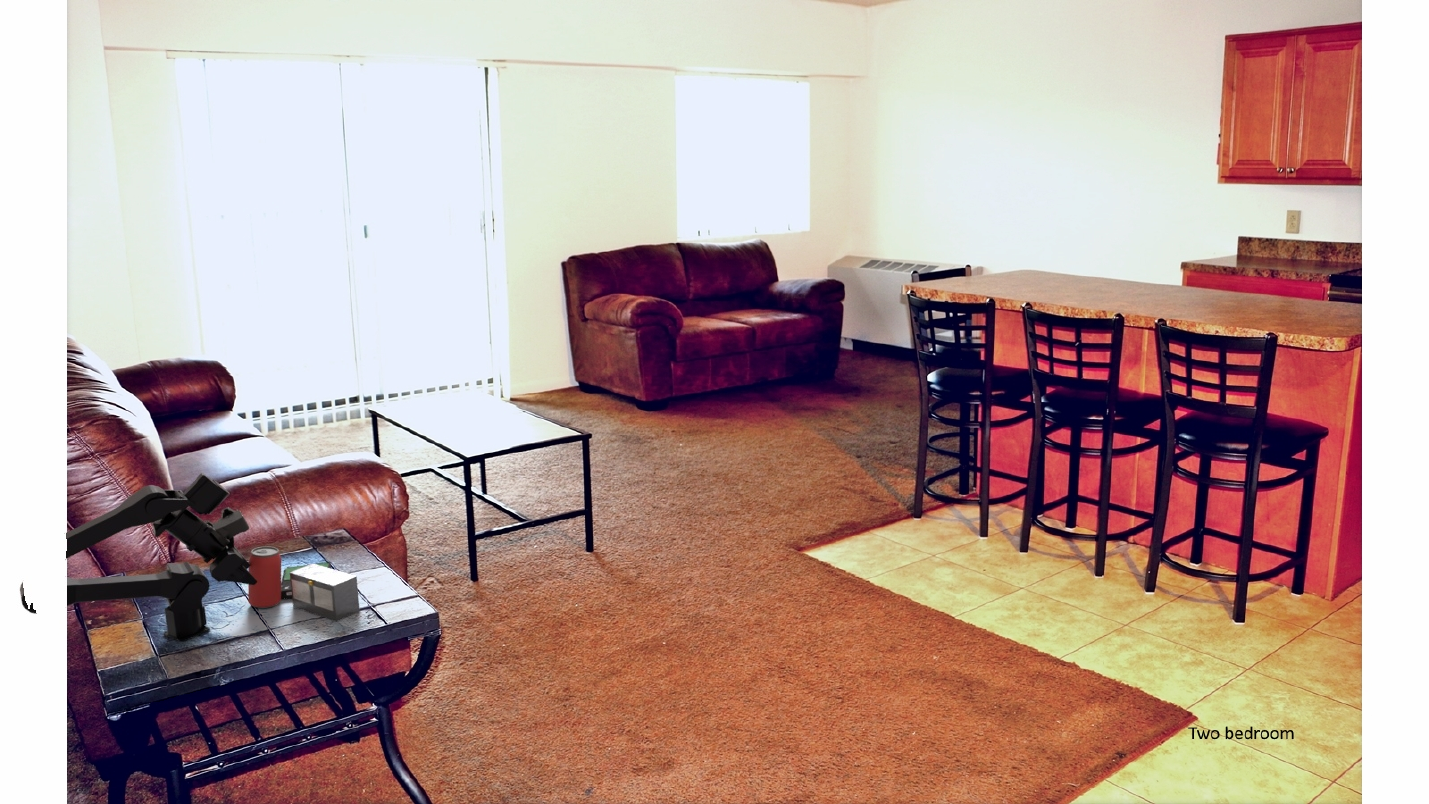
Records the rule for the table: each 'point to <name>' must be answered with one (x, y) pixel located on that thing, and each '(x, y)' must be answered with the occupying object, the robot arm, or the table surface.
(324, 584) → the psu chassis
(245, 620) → the table surface
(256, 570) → the beer can
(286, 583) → the disk drive
